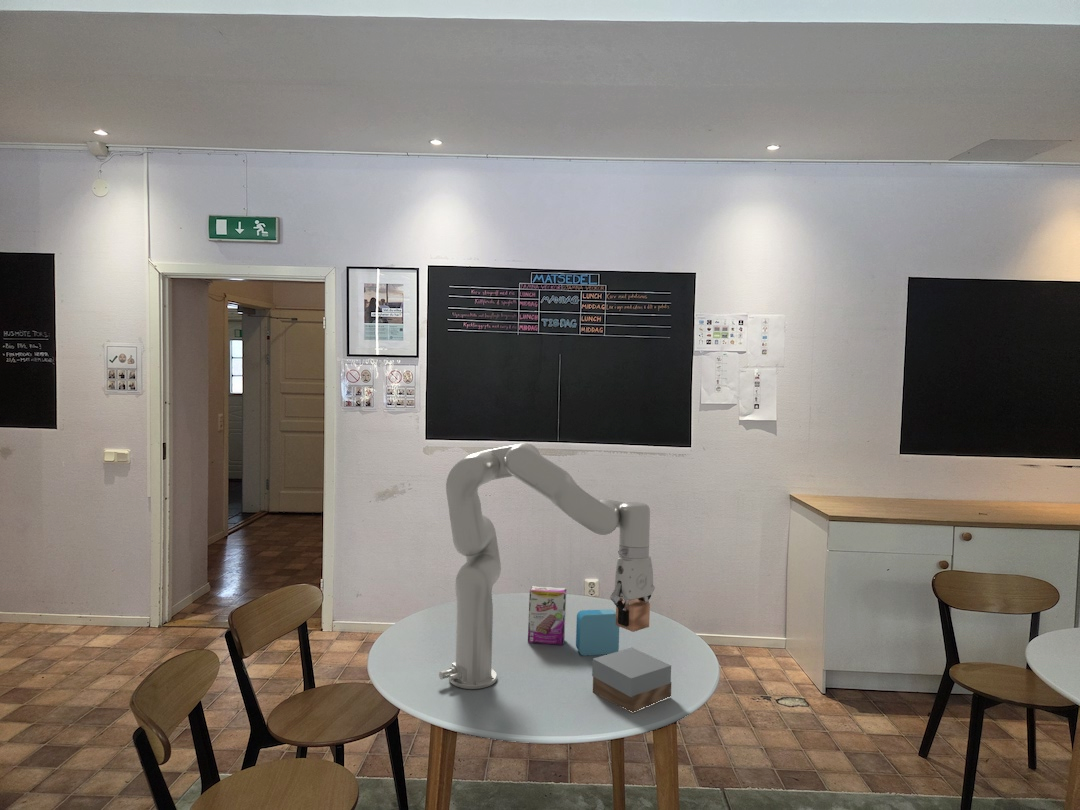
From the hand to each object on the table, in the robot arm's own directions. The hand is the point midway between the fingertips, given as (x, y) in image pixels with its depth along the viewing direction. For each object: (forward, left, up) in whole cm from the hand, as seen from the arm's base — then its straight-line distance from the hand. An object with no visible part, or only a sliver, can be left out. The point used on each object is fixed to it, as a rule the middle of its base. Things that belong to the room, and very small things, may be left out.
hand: (632, 621), depth 168 cm
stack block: (0, 0, -1) cm, 1 cm away
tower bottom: (0, 0, -19) cm, 19 cm away
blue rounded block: (+13, +25, -19) cm, 34 cm away
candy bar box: (+6, +40, -19) cm, 45 cm away
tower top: (0, 0, -15) cm, 15 cm away
